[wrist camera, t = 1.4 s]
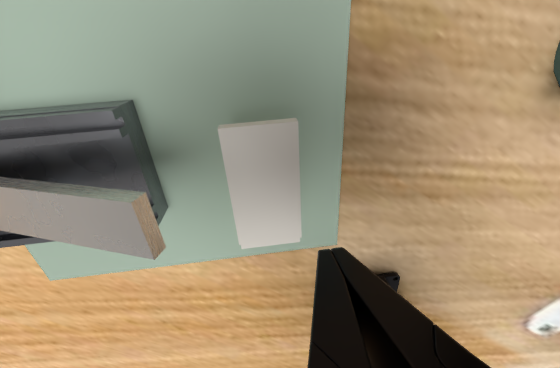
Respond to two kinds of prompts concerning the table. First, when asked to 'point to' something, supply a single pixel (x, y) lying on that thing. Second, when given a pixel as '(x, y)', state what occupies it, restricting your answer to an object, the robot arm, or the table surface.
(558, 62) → the bracket
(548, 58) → the table surface
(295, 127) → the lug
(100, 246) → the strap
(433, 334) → the robot arm
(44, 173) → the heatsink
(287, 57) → the board
